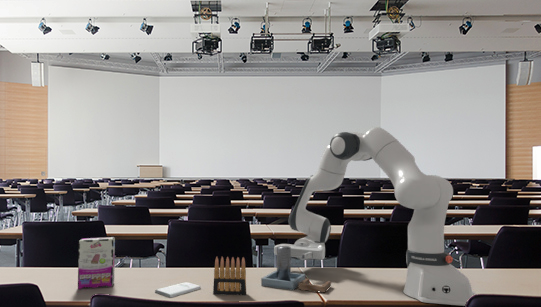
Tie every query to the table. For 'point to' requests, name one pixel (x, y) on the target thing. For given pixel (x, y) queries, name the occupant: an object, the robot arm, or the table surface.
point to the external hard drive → (177, 289)
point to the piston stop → (284, 263)
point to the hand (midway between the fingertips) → (292, 255)
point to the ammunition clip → (229, 278)
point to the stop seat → (313, 286)
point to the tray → (282, 281)
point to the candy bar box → (96, 262)
